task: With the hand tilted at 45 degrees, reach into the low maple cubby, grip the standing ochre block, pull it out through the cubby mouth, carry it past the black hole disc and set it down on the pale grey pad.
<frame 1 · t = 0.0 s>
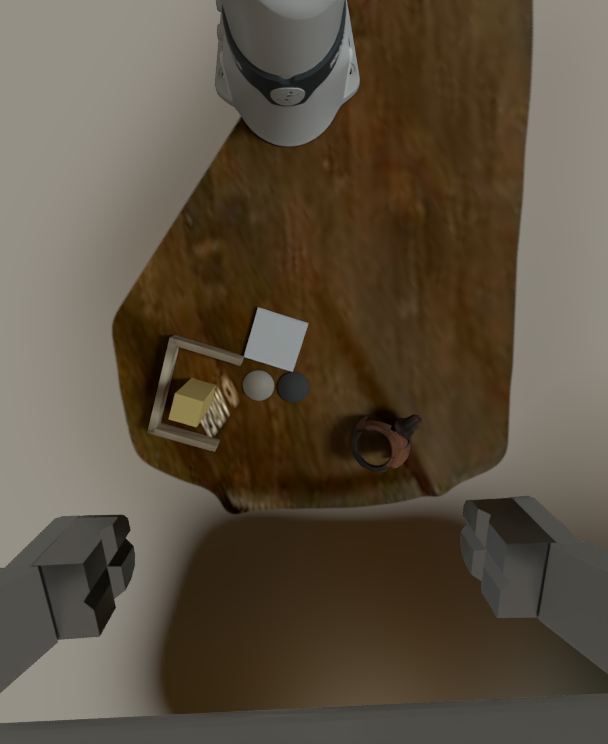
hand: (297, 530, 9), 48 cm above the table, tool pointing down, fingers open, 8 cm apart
pottery mug: (384, 430, 60), on the table
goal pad: (275, 339, 56), on the table
cubby: (200, 393, 58), on the table
painted circle: (258, 385, 58), on the table
ochre block: (200, 392, 58), on the table
hole disc: (293, 387, 58), on the table
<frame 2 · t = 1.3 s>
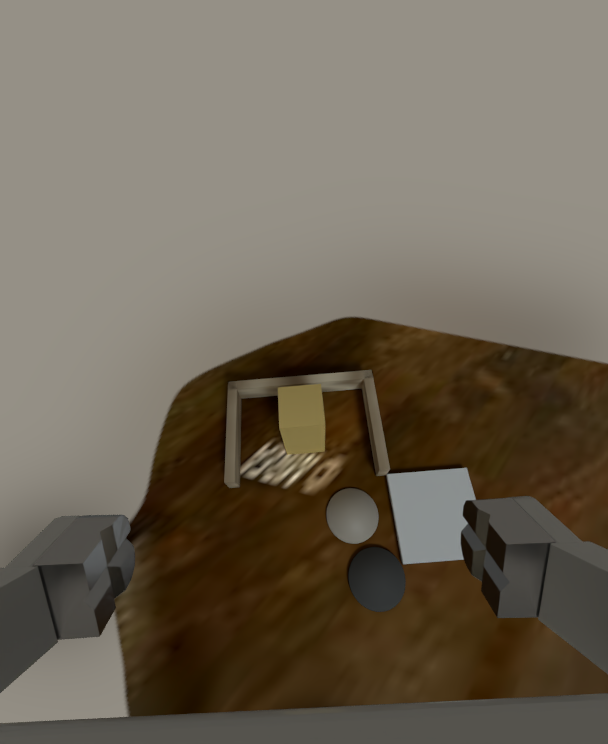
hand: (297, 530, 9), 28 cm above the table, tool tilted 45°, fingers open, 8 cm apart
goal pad: (435, 514, 35), on the table
cubby: (304, 434, 39), on the table
painted circle: (352, 515, 35), on the table
ochre block: (304, 435, 39), on the table
hole disc: (376, 578, 32), on the table
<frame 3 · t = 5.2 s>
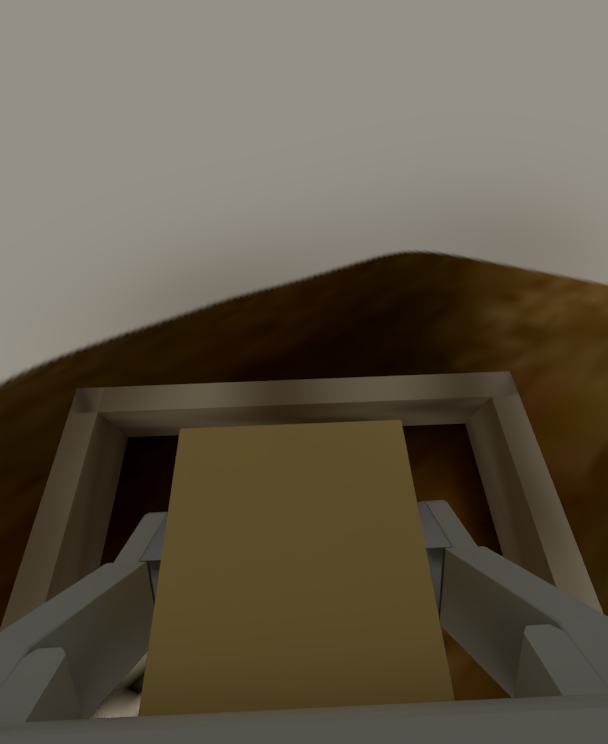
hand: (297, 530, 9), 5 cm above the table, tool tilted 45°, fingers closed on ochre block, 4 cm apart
cubby: (301, 567, 12), on the table
ochre block: (301, 566, 12), on the table, touching gripper
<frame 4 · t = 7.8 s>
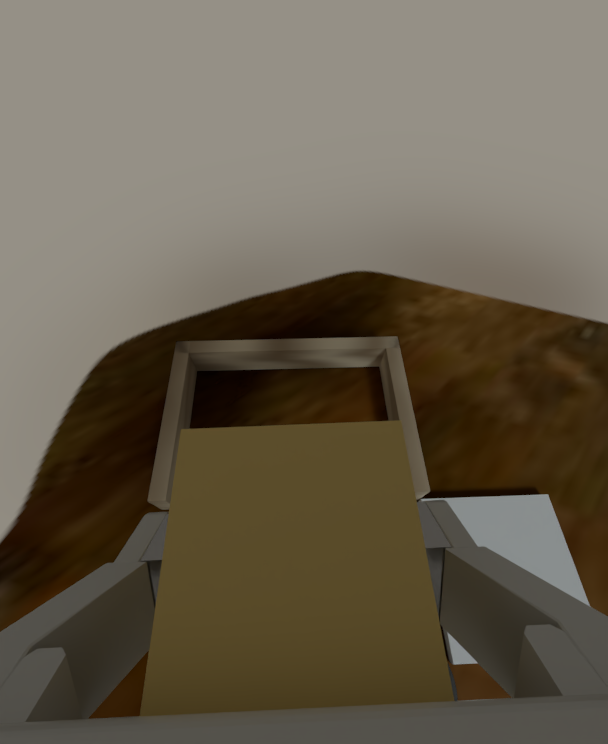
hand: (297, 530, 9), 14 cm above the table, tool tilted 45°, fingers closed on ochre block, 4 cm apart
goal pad: (500, 570, 21), on the table
cubby: (290, 429, 25), on the table
ochre block: (301, 566, 12), point 9 cm above the table, touching gripper
when the fingers open (6 cm above the table, at t = 10.8 s): ochre block drops 1 cm, resting on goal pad.
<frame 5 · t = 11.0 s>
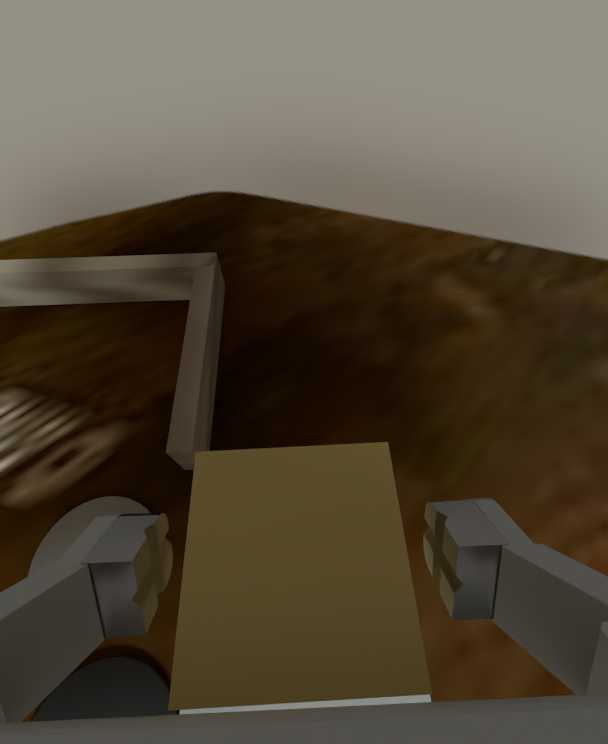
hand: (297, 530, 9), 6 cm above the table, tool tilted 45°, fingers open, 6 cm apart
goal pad: (301, 569, 14), on the table
cubby: (60, 378, 18), on the table
painted circle: (98, 563, 14), on the table
ochre block: (302, 569, 13), point 1 cm above the table, touching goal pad
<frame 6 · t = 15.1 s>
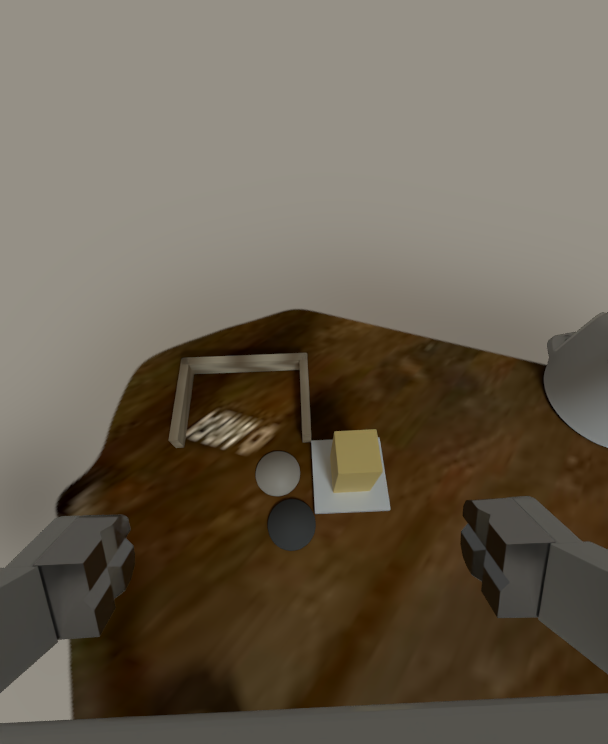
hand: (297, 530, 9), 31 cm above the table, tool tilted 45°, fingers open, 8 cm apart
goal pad: (348, 474, 40), on the table
cubby: (245, 406, 45), on the table
painted circle: (277, 473, 41), on the table
ochre block: (349, 473, 40), point 1 cm above the table, touching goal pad
hole disc: (291, 524, 38), on the table
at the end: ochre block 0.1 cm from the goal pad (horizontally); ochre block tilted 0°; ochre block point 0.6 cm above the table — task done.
